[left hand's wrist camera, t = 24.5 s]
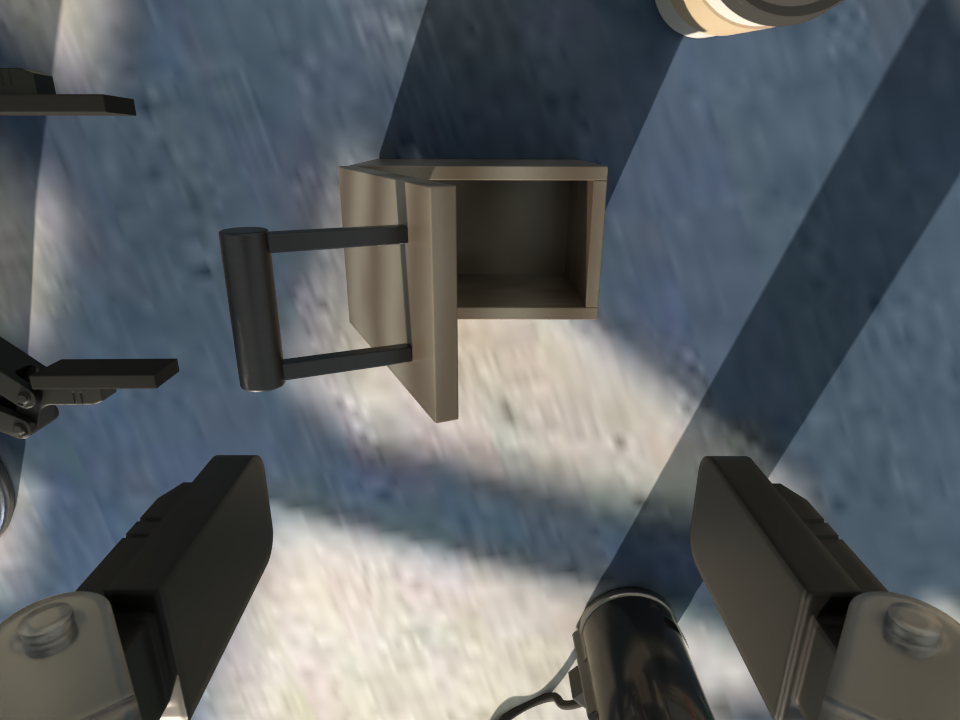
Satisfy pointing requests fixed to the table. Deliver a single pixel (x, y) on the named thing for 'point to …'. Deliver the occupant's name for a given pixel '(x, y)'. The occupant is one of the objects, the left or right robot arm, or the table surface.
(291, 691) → the table surface
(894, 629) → the left robot arm
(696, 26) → the coffee cup
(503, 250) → the chest
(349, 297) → the lid
